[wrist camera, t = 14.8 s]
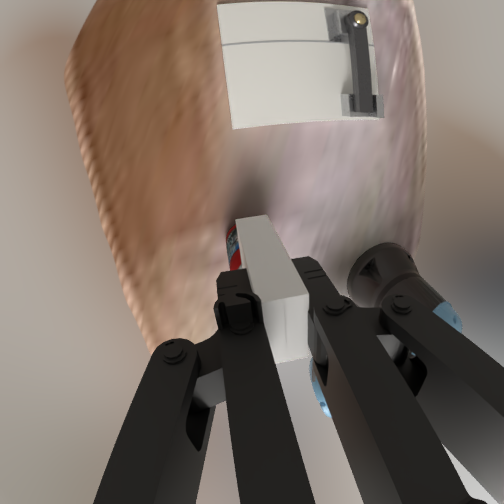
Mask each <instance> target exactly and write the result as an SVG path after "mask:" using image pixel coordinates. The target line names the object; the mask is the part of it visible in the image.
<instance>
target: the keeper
mask: <svg viewBox="0 0 504 504" xmlns="http://www.w3.org/2000/svg"><path fill="white" fill-rule="evenodd" d="M340 96H341V108H342V116H348V117H375V118H384V104H383V95H372V102H373V113H363V112H354V99H353V94H340Z"/></svg>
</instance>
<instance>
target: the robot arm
mask: <svg viewBox="0 0 504 504" xmlns="http://www.w3.org/2000/svg"><path fill="white" fill-rule="evenodd" d="M235 221H236V228H237V234H238V241H239V248H240V255H241V262H242V268H243V269H237V270H232V271H226V272H221V273H220V275H219V277H218V278H217V280H216V282H217V294H218V300H217V301H216V302H215V304H214V308H213V309H214V313H215V317H216V321H217V325H218V330H217V331H216V333H215V334H214V335H213V336H211V337H210V338H209V339H207V340H205V341H202V342H200V343H197V344H195V345H194V343H192V342H191V341H189V340H187V339H182V338H178V339H171V340H168V341H165V342H163V343H162V344H161V345H159V346H158V347H157V348H156V349H155V351H154V352H153V354H152V356H151V359H150V361H149V363H148V365H147V368H146V370H145V372H144V375H143V377H142V379H141V382H140V384H139V386H138V389H137V391H136V393H135V396H134V398H133V401H132V403H131V406H130V408H129V410H128V413H127V416H126V418H125V420H124V423H123V425H122V428H121V430H120V433H119V435H118V438H117V440H116V443H115V446H114V448H113V451H112V453H111V456H110V459H109V461H108V464H107V467H106V469H105V472H104V475H103V477H102V480H101V483H100V486H99V489H98V491H97V494H96V497H95V500H94V503H93V504H196V499H197V494H198V490H199V485H200V480H201V474H202V470H203V465H204V461H205V455H206V451H207V446H208V441H209V436H210V431H211V427H212V422H213V417H214V412H215V408H216V405H217V404H219V403H221V402H224V401H226V403H227V411H228V420H229V428H230V435H231V442H232V450H233V457H234V464H235V471H236V478H237V484H238V491H239V497H240V504H315V500H314V497H313V493H312V490H311V487H310V484H309V480H308V477H307V473H306V470H305V466H304V463H303V459H302V456H301V452H300V449H299V445H298V442H297V438H296V435H295V432H294V428H293V424H292V421H291V417H290V414H289V410H288V407H287V404H286V400H285V396H284V393H283V389H282V386H281V382H280V379H279V375H278V372H277V368H276V364H278V363H283V362H287V361H292V360H296V359H301V358H306V357H308V356H309V355H308V354H309V348H310V351H311V353H312V356H313V357H312V358H311V361H310V365H309V371H310V378H311V382H312V386H313V389H314V392H315V395H316V398H317V400H318V401H319V402H320V406H321V408H322V410H323V411H324V413H325V414H326V416H328V417H331V418H332V419H333V422H334V424H335V427H336V430H337V432H338V435H339V438H340V440H341V443H342V446H343V448H344V451H345V454H346V456H347V459H348V462H349V465H350V467H351V470H352V473H353V475H354V478H355V481H356V484H357V486H358V489H359V492H360V494H361V497H362V500H363V502H364V504H487V503H486V502H484V501H482V500H478V499H474V498H472V497H471V496H470V495H469V494H468V492H467V491H466V489H465V487H464V485H463V483H462V481H461V479H460V477H459V475H458V473H457V471H456V469H455V468H454V465H453V464H452V462H451V460H450V458H449V456H448V454H447V453H446V451H445V449H444V447H443V445H444V446H445V447H446V448H447V449H448V450H449V451H450V452H451V453H452V454H453V455H454V457H455V458H456V459H457V460H458V461H459V462H460V463H461V464H462V465H463V466H464V467H465V468H466V469H467V470H468V471H469V472H470V473H471V475H472V476H473V477H474V478H475V479H476V480H477V481H478V482H479V483H480V484H481V485H482V486H483V487H484V488H485V489H486V491H487V492H488V493H489V494H490V495H491V496H492V497H493V498H494V499H495V500H496V501H497V502H498V503H499V504H504V367H502V366H501V365H500V364H499V363H498V362H496V361H495V360H494V359H493V358H491V357H490V356H489V355H488V354H486V353H485V352H484V351H483V350H482V349H480V348H479V347H478V346H477V345H475V344H474V343H473V342H472V341H470V340H469V339H468V338H466V337H465V336H464V335H463V334H461V333H462V321H461V319H460V317H459V315H458V314H457V313H456V312H455V310H454V309H453V308H452V306H451V304H450V303H449V302H447V301H446V300H445V299H444V298H443V297H442V296H441V295H440V294H439V293H438V292H437V291H436V290H434V288H433V287H431V286H430V285H429V284H428V283H427V282H426V281H425V280H424V279H423V278H422V277H421V276H420V275H419V272H418V270H417V268H416V266H415V263H414V261H413V259H412V257H411V255H410V254H409V253H408V252H407V251H406V250H405V249H404V248H402V247H401V246H399V245H397V244H394V243H384V244H380V245H377V246H375V247H373V248H371V249H369V250H368V251H366V252H365V253H364V254H363V255H362V256H361V257H360V258H359V259H358V260H357V261H356V263H355V264H354V266H353V268H352V269H351V272H350V274H349V277H348V283H347V289H348V293H349V296H350V298H351V299H352V300H351V299H350V298H348V297H345V296H342V295H340V294H339V293H338V291H337V290H336V288H335V287H334V285H333V284H332V282H331V281H330V279H329V278H328V276H327V275H326V273H325V272H324V270H323V269H322V267H321V266H320V264H319V263H318V261H316V260H314V259H313V258H311V257H309V256H307V257H302V258H296V259H290V257H289V255H288V253H287V251H286V249H285V247H284V245H283V244H282V242H281V240H280V238H279V236H278V234H277V232H276V231H275V229H274V227H273V225H272V223H271V221H270V220H269V218H268V216H267V214H266V215H260V216H253V217H247V218H241V219H235ZM442 444H443V445H442Z"/></svg>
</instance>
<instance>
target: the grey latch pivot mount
mask: <svg viewBox="0 0 504 504" xmlns="http://www.w3.org/2000/svg"><path fill="white" fill-rule="evenodd" d="M350 12H352V11H350V10H342V9H332V8H324V13H325V19H326V26H327V33H328V40H329V42H341V43H349V37H348V28H347V26H346V25H345V22H344V17H345V16H346V15H347V14H348V13H350Z"/></svg>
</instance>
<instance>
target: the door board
mask: <svg viewBox="0 0 504 504" xmlns="http://www.w3.org/2000/svg"><path fill="white" fill-rule="evenodd" d="M324 8H332V9H342V10H350V11H355V10H359V11H361V12H363V13H364V14H365V15H366V16H367V17H368V21H369V23H368V26H367V27H366V28H367V37H368V46H369V56H370V68H371V82H372V95H378V82H377V71H376V61H375V52H374V44H373V37H372V30H371V24H370V17H369V12H368V9H366V8H360V7H353V6H345V5H336V4H325V3H312V2H283V1H273V2H244V3H230V4H220V5H217V13H218V21H219V29H220V37H221V45H222V53H223V60H224V68H225V76H226V84H227V92H228V100H229V107H230V115H231V123H232V129H240V128H248V127H257V126H266V125H276V124H287V123H300V122H316V121H339V120H380V118H375V117H348V116H342V108H341V96H340V94H353V82H352V68H351V57H350V46H349V43H341V42H329V40H328V33H327V26H326V19H325V13H324Z"/></svg>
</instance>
